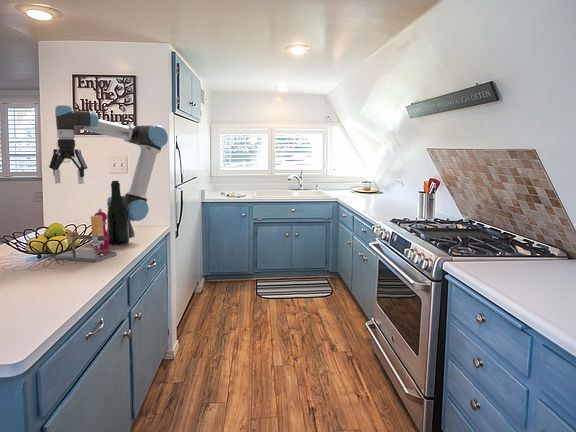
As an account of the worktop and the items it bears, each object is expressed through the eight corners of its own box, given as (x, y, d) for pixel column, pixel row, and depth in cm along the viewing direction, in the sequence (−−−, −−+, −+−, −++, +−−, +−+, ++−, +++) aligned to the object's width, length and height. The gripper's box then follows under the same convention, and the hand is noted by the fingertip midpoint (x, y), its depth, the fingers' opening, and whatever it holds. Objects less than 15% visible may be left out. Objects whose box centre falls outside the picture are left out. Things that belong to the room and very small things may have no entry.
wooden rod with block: (73, 251, 217) (72, 231, 216) (109, 254, 211) (108, 234, 210) (67, 253, 213) (65, 233, 212) (103, 256, 208) (102, 235, 206)
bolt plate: (77, 251, 223) (77, 248, 223) (116, 255, 216) (116, 251, 216) (55, 258, 210) (55, 255, 209) (96, 262, 203) (95, 258, 203)
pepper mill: (106, 250, 227) (104, 209, 224) (91, 250, 227) (89, 209, 224) (112, 246, 234) (110, 207, 231) (98, 246, 234) (95, 207, 231)
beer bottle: (125, 245, 238) (121, 181, 232) (104, 245, 238) (100, 181, 233) (132, 241, 248) (128, 179, 243) (113, 241, 248) (109, 179, 243)
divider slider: (99, 252, 213) (96, 215, 210) (104, 252, 212) (102, 215, 210) (93, 254, 209) (90, 216, 207) (98, 254, 208) (96, 216, 206)
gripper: (38, 138, 219) (42, 183, 222) (82, 138, 212) (85, 184, 215) (51, 139, 226) (54, 182, 229) (93, 138, 219) (96, 183, 222)
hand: (69, 183), depth 222 cm, fingers open, 13 cm apart
